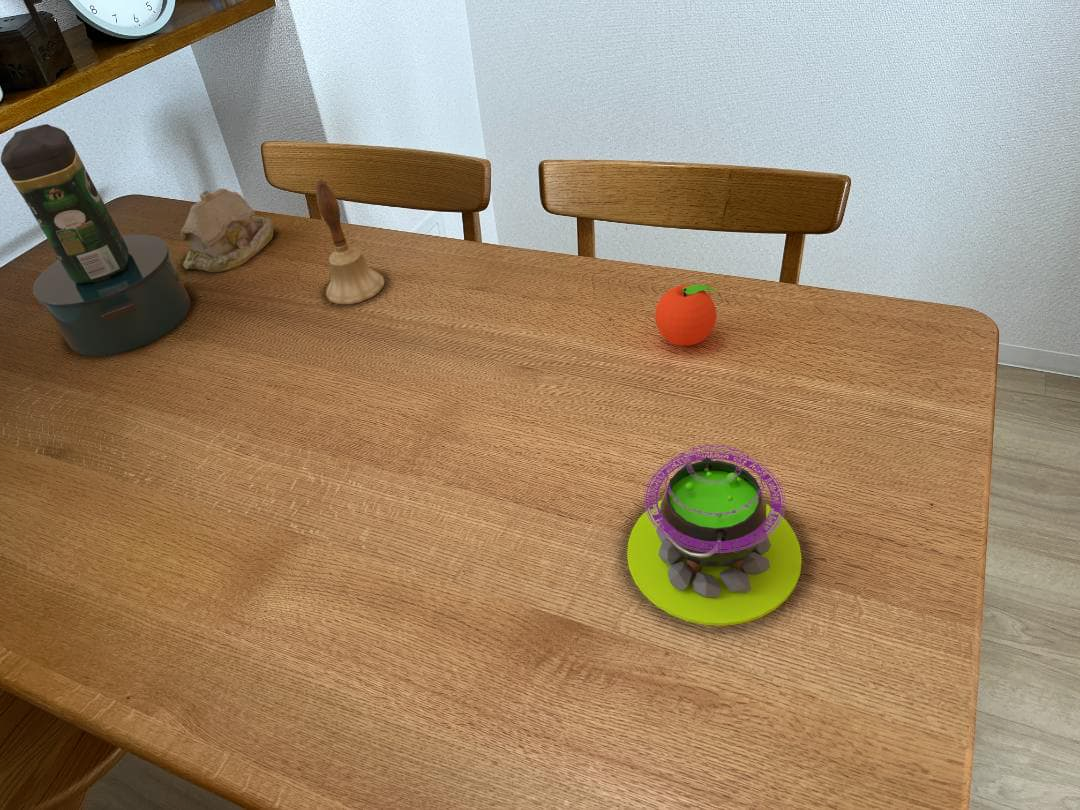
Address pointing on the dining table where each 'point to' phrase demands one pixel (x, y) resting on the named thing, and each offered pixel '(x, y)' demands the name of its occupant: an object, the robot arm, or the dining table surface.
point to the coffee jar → (65, 203)
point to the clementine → (686, 314)
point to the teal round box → (117, 301)
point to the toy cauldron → (714, 542)
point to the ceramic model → (223, 232)
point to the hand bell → (345, 257)
